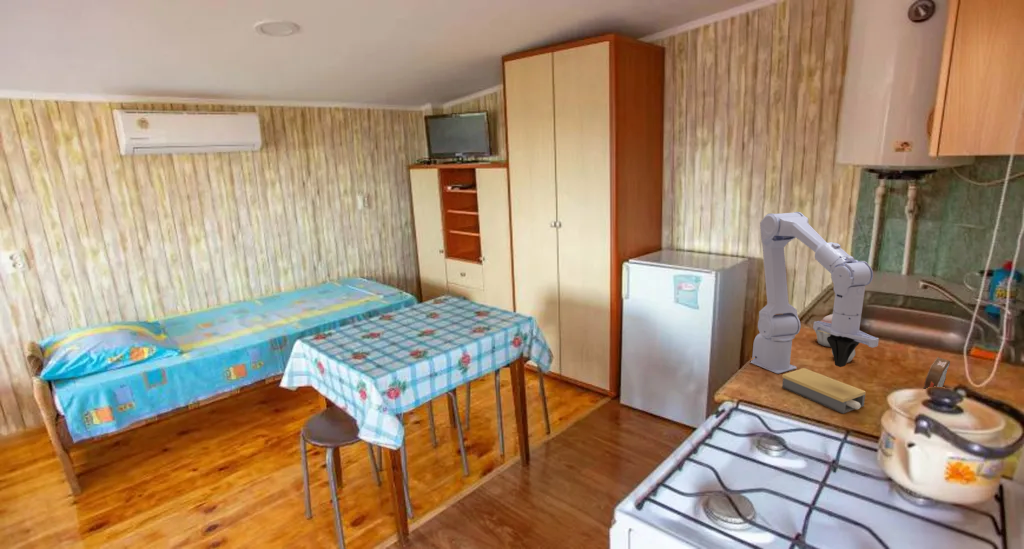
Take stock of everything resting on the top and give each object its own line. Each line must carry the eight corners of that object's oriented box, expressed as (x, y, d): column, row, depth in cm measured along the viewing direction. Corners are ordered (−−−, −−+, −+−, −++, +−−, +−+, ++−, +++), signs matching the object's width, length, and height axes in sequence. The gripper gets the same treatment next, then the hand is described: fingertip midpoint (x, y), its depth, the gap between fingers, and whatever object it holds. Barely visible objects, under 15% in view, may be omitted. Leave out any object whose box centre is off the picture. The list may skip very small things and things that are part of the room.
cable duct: (780, 386, 137) (781, 376, 136) (800, 380, 140) (802, 370, 140) (848, 416, 121) (850, 404, 121) (869, 408, 125) (871, 396, 124)
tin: (932, 382, 138) (937, 352, 136) (947, 385, 135) (952, 355, 133) (919, 401, 128) (924, 369, 126) (935, 405, 125) (941, 372, 124)
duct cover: (782, 377, 136) (782, 374, 136) (803, 370, 139) (804, 367, 139) (843, 402, 122) (843, 399, 122) (865, 394, 125) (865, 391, 125)
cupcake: (850, 344, 165) (854, 313, 163) (840, 351, 159) (844, 320, 157) (818, 336, 172) (821, 307, 170) (807, 344, 166) (810, 314, 164)
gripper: (807, 306, 128) (801, 358, 132) (867, 323, 116) (860, 380, 119) (826, 302, 131) (820, 353, 135) (887, 318, 119) (879, 373, 122)
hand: (840, 365), depth 127 cm, fingers closed
